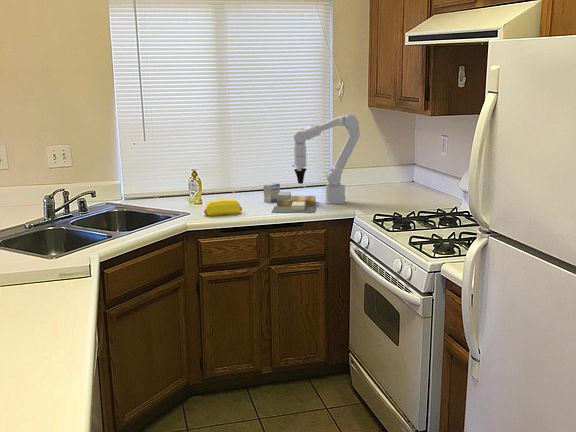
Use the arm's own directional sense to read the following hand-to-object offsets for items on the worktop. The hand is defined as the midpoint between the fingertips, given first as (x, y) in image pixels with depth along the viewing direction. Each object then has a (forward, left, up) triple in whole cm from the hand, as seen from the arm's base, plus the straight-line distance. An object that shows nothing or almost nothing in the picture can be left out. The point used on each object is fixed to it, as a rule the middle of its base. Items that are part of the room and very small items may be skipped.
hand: (300, 183), depth 317 cm
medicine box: (+15, -6, -10) cm, 19 cm away
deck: (+2, +2, -10) cm, 10 cm away
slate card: (+8, +2, -7) cm, 11 cm away
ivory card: (0, +13, -10) cm, 16 cm away
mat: (+2, +16, -10) cm, 19 cm away
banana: (+34, +25, -10) cm, 43 cm away
